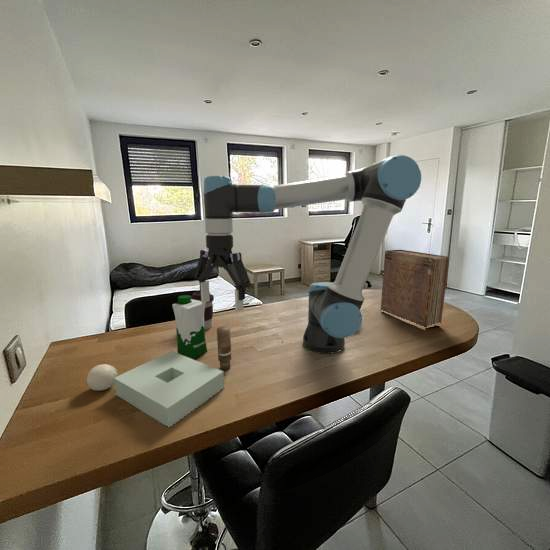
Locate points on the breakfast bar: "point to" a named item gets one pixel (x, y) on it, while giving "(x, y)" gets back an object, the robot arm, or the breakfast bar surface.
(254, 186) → the robot arm
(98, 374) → the baseball
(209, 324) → the coffee cup
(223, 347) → the peg
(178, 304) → the milk carton
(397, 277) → the book
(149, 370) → the board
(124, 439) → the breakfast bar surface
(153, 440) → the breakfast bar surface
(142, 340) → the breakfast bar surface
